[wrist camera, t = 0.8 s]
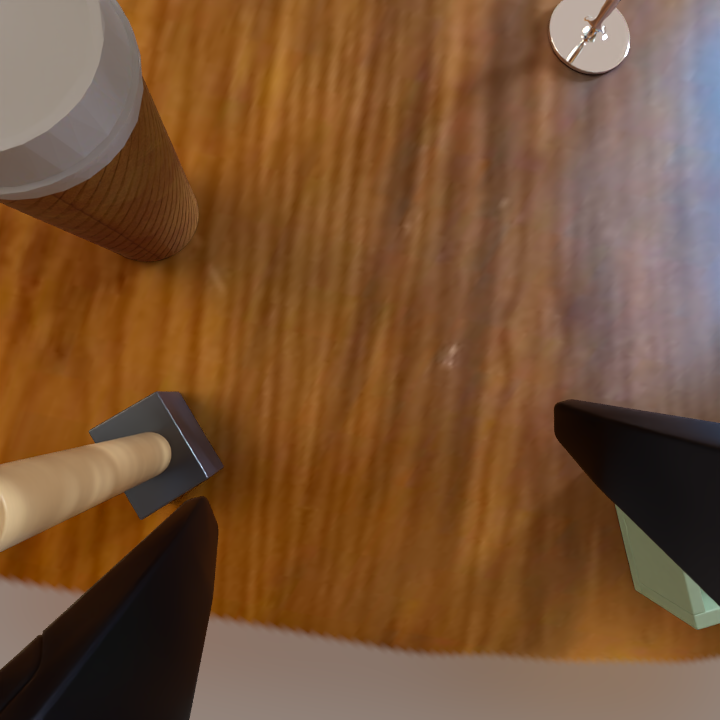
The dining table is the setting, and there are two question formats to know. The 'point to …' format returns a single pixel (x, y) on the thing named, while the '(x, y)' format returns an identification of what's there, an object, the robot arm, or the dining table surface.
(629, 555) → the divided tray
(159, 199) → the disposable coffee cup
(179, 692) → the robot arm
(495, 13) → the dining table surface
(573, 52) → the wineglass
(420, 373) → the dining table surface
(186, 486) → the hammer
